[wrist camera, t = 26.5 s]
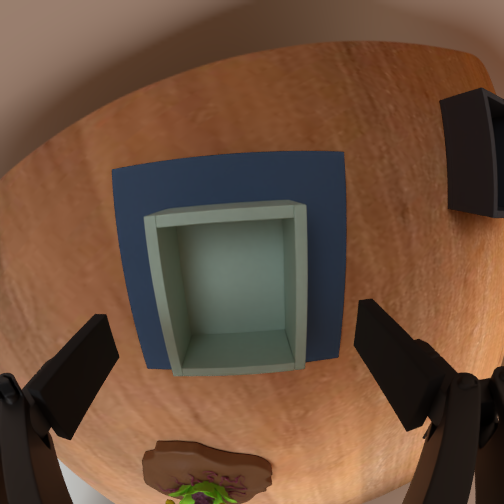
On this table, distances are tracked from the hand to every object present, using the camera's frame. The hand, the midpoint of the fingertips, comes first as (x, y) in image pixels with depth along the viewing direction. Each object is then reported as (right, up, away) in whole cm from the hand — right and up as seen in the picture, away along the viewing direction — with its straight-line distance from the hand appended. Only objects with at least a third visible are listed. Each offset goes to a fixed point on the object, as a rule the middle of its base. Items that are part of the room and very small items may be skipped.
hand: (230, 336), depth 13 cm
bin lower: (+26, +15, +9) cm, 31 cm away
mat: (-1, +2, +11) cm, 11 cm away
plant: (-7, -31, +19) cm, 37 cm away
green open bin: (-1, +2, +10) cm, 11 cm away
